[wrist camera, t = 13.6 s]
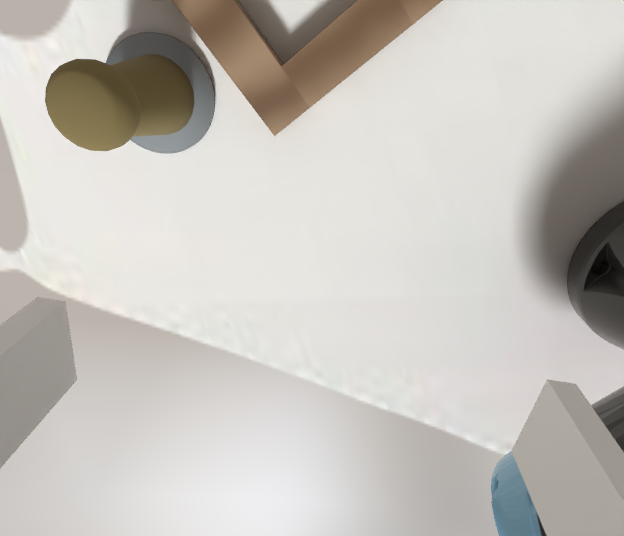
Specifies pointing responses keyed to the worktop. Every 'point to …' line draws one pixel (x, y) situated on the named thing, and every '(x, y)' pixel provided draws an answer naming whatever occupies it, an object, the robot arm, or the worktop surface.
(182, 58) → the coaster
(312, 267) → the worktop surface
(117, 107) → the cork
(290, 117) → the collar board
